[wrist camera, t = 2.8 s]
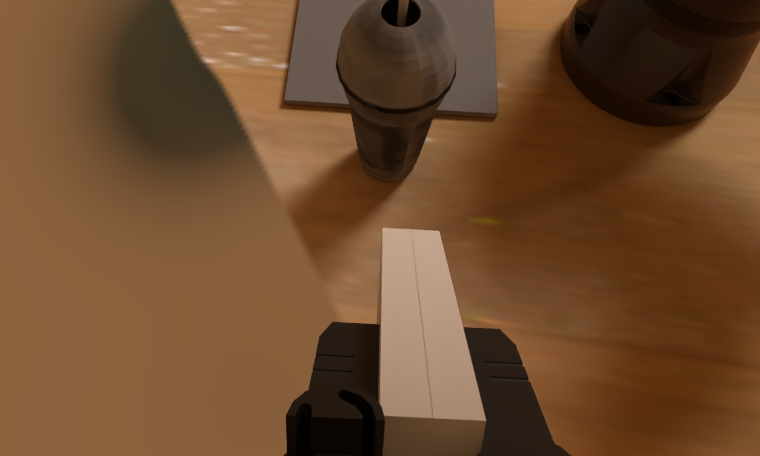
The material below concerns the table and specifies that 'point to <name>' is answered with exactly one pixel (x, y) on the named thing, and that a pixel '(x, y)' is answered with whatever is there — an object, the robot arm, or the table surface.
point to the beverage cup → (395, 79)
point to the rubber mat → (322, 38)
